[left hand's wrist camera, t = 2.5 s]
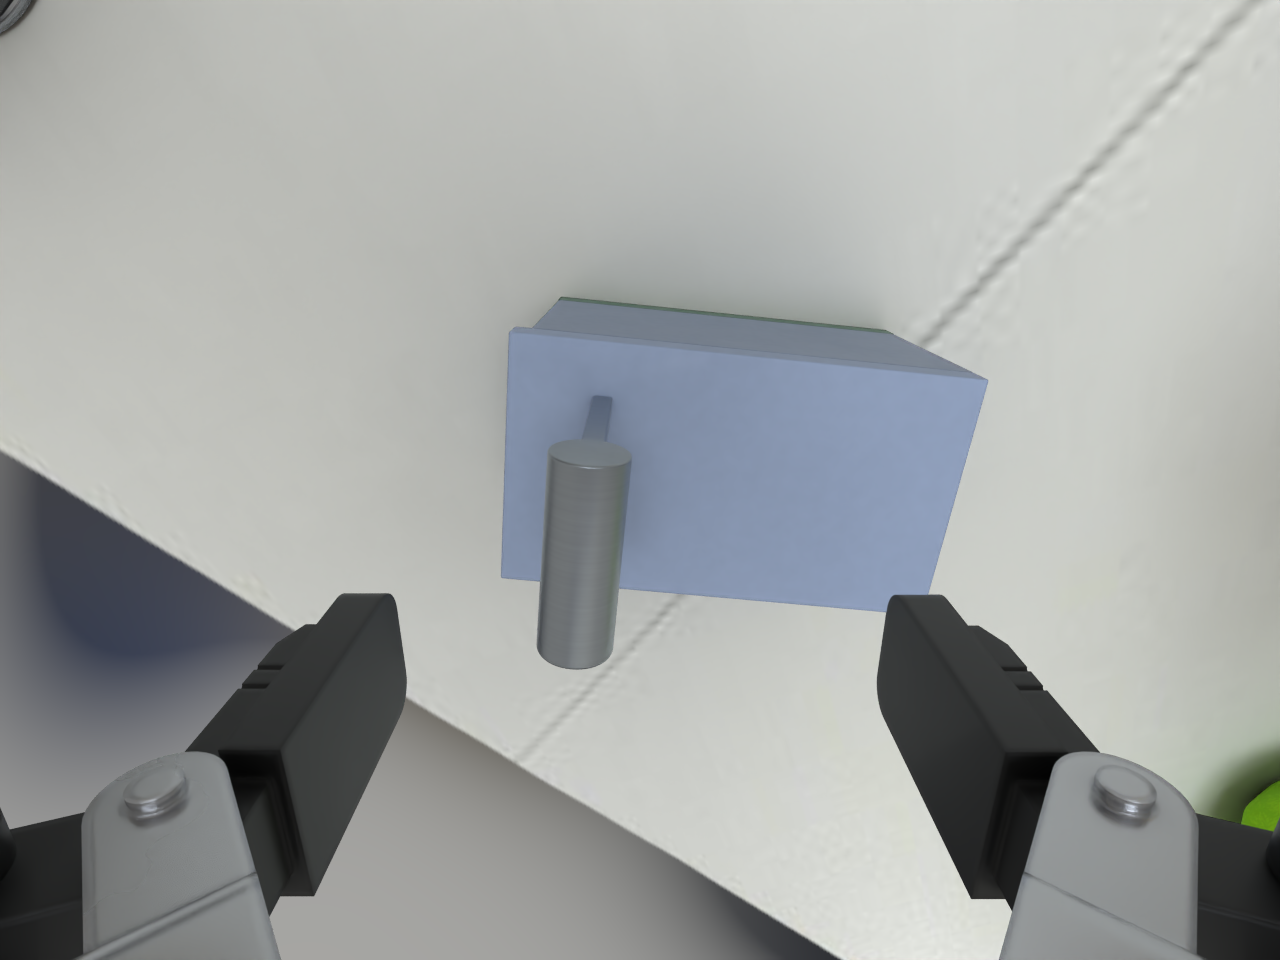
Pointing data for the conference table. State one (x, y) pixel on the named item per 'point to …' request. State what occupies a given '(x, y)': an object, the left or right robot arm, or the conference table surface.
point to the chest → (738, 332)
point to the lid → (721, 477)
